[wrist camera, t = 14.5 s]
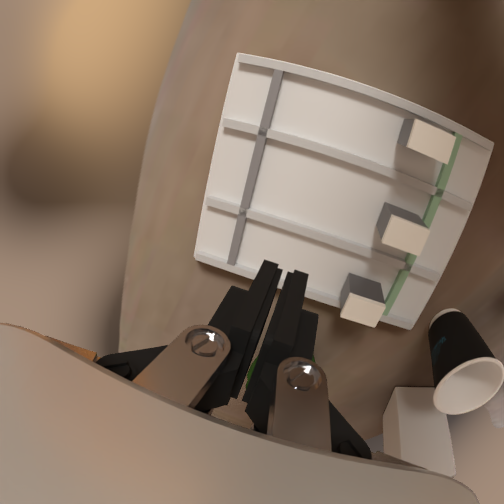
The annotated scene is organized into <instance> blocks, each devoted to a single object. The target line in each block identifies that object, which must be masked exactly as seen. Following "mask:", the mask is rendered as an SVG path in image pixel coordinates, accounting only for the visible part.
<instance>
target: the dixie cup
mask: <svg viewBox="0 0 504 504" xmlns="http://www.w3.org/2000/svg"><path fill="white" fill-rule="evenodd" d="M428 336H429V344H430V351H431V359H432V367H433V376H434V387H435V392H434V395H433V402H434V405H435V407H436V408H437V409H438V410H439V411H440V412H442V413H445V414H463V413H467V412H470V411H472V410H474V409H477V408H478V407H480V406H482V405H483V404H485V403H486V402H488V401H489V400H490V399H491V398H492V397H493V396H494V395H495V394H496V393H497V391H498V390H499V388H500V387H501V385H502V383H503V380H504V366H503V365H502V363H501V362H500V361H499V360H497V359H496V358H495V357H494V355H493V354H492V352H491V351H490V349H489V348H488V346H487V345H486V343H485V342H484V340H483V339H482V338H481V336H480V335H479V333H478V332H477V330H476V329H475V328H474V326H473V325H472V323H471V322H470V321H469V319H468V318H467V317H466V315H465V314H463V313H461V312H460V311H459V310H457V309H454V308H449V309H445V310H442V311H440V312H439V313H438V314H436V315H435V316H434V318H433V319H432V320H431V322H430V325H429V333H428Z"/></svg>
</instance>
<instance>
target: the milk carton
mask: <svg viewBox="0 0 504 504" xmlns="http://www.w3.org/2000/svg"><path fill="white" fill-rule="evenodd" d="M434 392H435V387H395V388H394V391H393V393H392V396H391V398H390V400H389V403H388V405H387V407H386V410H385V412H384V414H383V442H384V443H383V447H384V453H385V454H387V455H390V456H393V457H395V458H398V459H401V460H403V461H406V462H409V463H412V464H414V465H417V466H420V467H423V468H426V469H428V470H430V471H434V472H437V473H440V474H443V475H446V476H449V477H451V478H454V476H455V475H456V468H455V461H454V455H453V449H452V443H451V437H450V431H449V426H448V421H447V417H446V414H445V413H442V412H440V411H439V410H438V409H437V408H436V407H435V405H434V402H433V395H434Z"/></svg>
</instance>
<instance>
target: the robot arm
mask: <svg viewBox="0 0 504 504" xmlns="http://www.w3.org/2000/svg"><path fill="white" fill-rule="evenodd" d="M278 265H279V264H277V263H274V262H271V261H268V260H265V259H264V261H263V263H262V265H261V267H260V269H259V271H258V273H257V275H256V277H255V279H254V281H253V283H252V285H251V287H250V289H249V291H247V290H244V289H241V288H238V287H235V286H231V288H230V289H229V291H228V293H227V294H226V296H225V297H224V299H223V301H222V302H221V304H220V306H219V307H218V309H217V311H216V312H215V314H214V316H213V317H212V319H211V321H210V322H209V324H208V325H194V326H191V327H188V328H187V329H185V330H184V331H183V332H182V333H181V334H180V335H179V336H178V337H177V338H176V339H174V340H173V341H172V342H171V343H170V344H169V345H166V346H160V347H154V348H148V349H142V350H136V351H129V352H123V353H116V354H110V355H107V356H104V357H102V358H101V357H98V356H97V353H96V352H93V351H90V350H87V349H84V348H81V347H77V346H74V345H71V344H68V343H65V342H63V341H60V340H57V339H54V338H51V337H48V336H44V335H42V334H40V333H37V332H35V331H32V330H30V329H27V328H24V327H21V326H16V325H12V324H8V323H0V504H480V503H479V501H478V499H477V497H476V495H475V494H474V492H473V491H472V490H471V489H470V488H469V487H467V486H466V485H464V484H463V483H461V482H459V481H457V480H455V479H453V478H451V477H449V476H446V475H443V474H440V473H437V472H434V471H430V470H428V469H426V468H423V467H420V466H417V465H414V464H412V463H409V462H406V461H403V460H401V459H398V458H395V457H393V456H390V455H387V454H385V453H382V452H380V451H377V452H376V453H373V452H371V451H370V448H369V447H368V446H367V444H366V443H365V441H364V440H363V439H362V438H361V437H360V436H359V435H358V433H357V432H356V431H355V430H354V429H353V428H352V427H351V425H350V424H349V423H348V422H347V421H346V420H345V419H344V417H343V416H342V415H341V414H340V413H339V412H338V410H337V409H336V408H335V407H334V406H333V405H332V403H331V402H330V401H329V400H328V388H327V379H326V375H325V373H324V371H323V370H322V368H321V367H320V366H318V365H317V364H316V363H314V362H313V361H312V358H313V351H314V345H315V338H316V331H317V324H318V314H316V313H313V312H309V311H306V310H303V309H302V305H303V301H304V296H305V291H306V286H307V281H308V276H309V274H307V273H304V272H301V271H298V270H295V269H294V272H293V273H292V272H289V271H288V272H287V275H286V278H285V281H284V284H283V287H282V289H281V292H280V295H279V298H278V301H277V304H276V307H275V310H274V313H273V315H272V318H271V321H270V324H269V327H268V330H267V332H266V335H265V338H264V341H263V344H262V347H261V349H260V352H259V355H258V358H257V361H256V363H255V366H254V369H253V372H252V375H251V377H250V380H249V383H248V385H247V388H246V391H245V394H244V396H243V399H242V401H244V402H247V403H248V404H247V407H246V410H245V412H246V413H247V414H248V416H249V417H250V419H251V420H252V422H253V423H252V425H251V428H250V429H247V428H244V427H241V426H238V425H235V424H232V423H229V422H226V421H224V420H221V419H218V418H215V417H213V416H211V414H212V412H213V410H214V408H217V407H220V406H223V405H228V402H229V400H230V397H233V398H235V399H237V397H238V395H239V392H240V389H241V387H242V384H243V382H244V379H245V376H246V374H247V371H248V369H249V366H250V363H251V361H252V358H253V355H254V353H255V350H256V347H257V345H258V342H259V339H260V336H261V334H262V331H263V328H264V325H265V322H266V319H267V317H268V314H269V311H270V308H271V305H272V302H273V299H274V296H275V293H276V290H277V287H278V284H279V281H280V278H281V275H282V272H283V269H280V268H278Z"/></svg>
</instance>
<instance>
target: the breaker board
mask: <svg viewBox="0 0 504 504" xmlns="http://www.w3.org/2000/svg"><path fill="white" fill-rule="evenodd" d="M404 119H418V120H421V121H423V122H425V123H427V124H430V125H432V126H434V127H436V128H438V129H441V130H443V131H445V132H447V133H449V134H451V135H453V136H455V137H456V140H455V143H454V146H453V149H452V153H451V156H450V159H449V162H448V165H447V164H445V163H443V162H440V161H438V160H436V159H434V158H431V157H429V156H427V155H425V154H422V153H420V152H418V151H415V150H413V149H411V148H408V147H406V146H403V145H401V144H398V143H397V140H398V137H399V134H400V131H401V127H402V124H403V120H404ZM493 146H494V143H493V142H492V141H490V140H488V139H486V138H485V137H483V136H481V135H479V134H477V133H475V132H474V131H472V130H470V129H468V128H466V127H464V126H462V125H460V124H458V123H456V122H454V121H452V120H450V119H448V118H446V117H444V116H442V115H440V114H438V113H435V112H433V111H431V110H429V109H427V108H424V107H422V106H420V105H417V104H415V103H413V102H410V101H408V100H405V99H403V98H400V97H398V96H395V95H393V94H390V93H388V92H385V91H382V90H380V89H377V88H374V87H371V86H368V85H365V84H362V83H359V82H356V81H353V80H350V79H347V78H344V77H341V76H337V75H334V74H331V73H327V72H324V71H320V70H316V69H313V68H309V67H305V66H301V65H297V64H293V63H288V62H284V61H279V60H275V59H270V58H265V57H260V56H254V55H249V54H243V53H237V55H236V59H235V63H234V67H233V71H232V75H231V79H230V83H229V87H228V91H227V95H226V99H225V103H224V108H223V112H222V116H221V121H220V125H219V130H218V134H217V139H216V143H215V148H214V153H213V157H212V162H211V167H210V172H209V177H208V182H207V187H206V192H205V197H204V202H203V208H202V213H201V218H200V224H199V229H198V235H197V241H196V246H195V252H194V257H196V258H195V260H198V261H201V262H203V263H206V264H209V265H212V266H215V267H218V268H221V269H224V270H226V271H229V272H232V273H235V274H238V275H241V276H244V277H247V278H250V279H253V280H254V279H255V277H256V275H257V273H258V271H259V269H260V267H261V265H262V263H263V261H264V259H265V260H268V261H271V262H274V263H277V264H279V265H278V268H280V269H283V272H282V275H281V278H280V281H279V284H278V287H277V288H280V289H282V287H283V284H284V281H285V278H286V275H287V272H288V271H289V272H292V273H293V272H294V269H295V270H298V271H301V272H304V273H307V274H309V276H308V281H307V286H306V291H305V296H304V297H307V298H310V299H313V300H316V301H319V302H322V303H325V304H328V305H332V306H335V307H338V308H340V296H341V290H342V287H343V285H344V283H345V281H346V278H347V276H348V274H349V273H352V274H355V275H358V276H361V277H364V278H367V279H370V280H373V281H376V282H379V283H381V287H382V292H383V296H384V301H385V306H386V308H385V310H384V312H383V314H382V316H381V318H380V319H379V321H382V322H385V323H389V324H392V325H395V326H398V327H402V328H405V329H408V330H411V328H413V326H414V324H415V323H416V321H417V319H418V318H419V316H420V314H421V312H422V311H423V309H424V307H425V305H426V304H427V302H428V300H429V298H430V296H431V295H432V293H433V291H434V289H435V287H436V285H437V283H438V281H439V279H440V278H441V276H442V274H443V272H444V270H445V268H446V266H447V264H448V262H449V259H450V257H451V255H452V253H453V251H454V249H455V247H456V245H457V242H458V240H459V238H460V236H461V233H462V231H463V229H464V226H465V224H466V222H467V219H468V217H469V214H470V212H471V210H472V207H473V204H474V202H475V199H476V197H477V194H478V191H479V189H480V186H481V183H482V180H483V177H484V174H485V172H486V169H487V165H488V162H489V159H490V156H491V153H492V150H493ZM384 202H386V203H389V204H392V205H394V206H397V207H400V208H402V209H405V210H407V211H410V212H412V213H415V214H417V215H419V217H420V218H421V219H422V221H423V222H424V223H425V224H426V226H427V227H428V228H429V230H430V234H429V236H428V238H427V241H426V243H425V245H424V247H423V250H422V252H421V254H420V256H417V255H414V254H411V253H408V252H406V251H403V250H400V249H398V248H395V247H392V246H389V245H387V244H384V243H382V241H381V238H380V235H379V232H378V229H377V226H376V223H377V221H378V218H379V216H380V213H381V210H382V208H383V205H384Z"/></svg>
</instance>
